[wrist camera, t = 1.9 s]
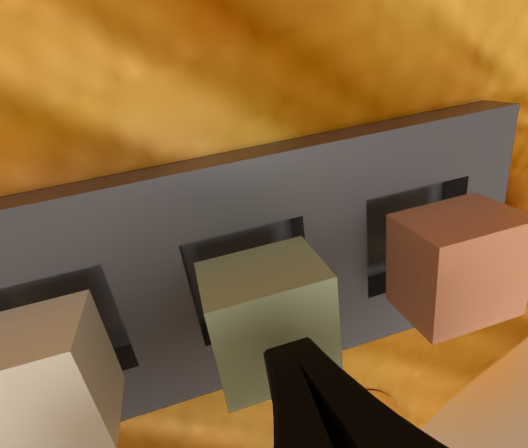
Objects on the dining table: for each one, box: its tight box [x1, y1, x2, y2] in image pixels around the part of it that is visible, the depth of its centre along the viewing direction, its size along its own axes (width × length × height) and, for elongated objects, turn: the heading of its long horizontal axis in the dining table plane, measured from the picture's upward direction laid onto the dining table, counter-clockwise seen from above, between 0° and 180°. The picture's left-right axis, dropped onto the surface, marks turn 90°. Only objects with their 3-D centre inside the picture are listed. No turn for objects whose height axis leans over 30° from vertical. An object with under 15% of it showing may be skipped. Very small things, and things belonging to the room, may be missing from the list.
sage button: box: [194, 236, 343, 413], centre depth 13 cm, size 4×4×3 cm
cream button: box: [0, 289, 125, 448], centre depth 11 cm, size 4×4×3 cm
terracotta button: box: [386, 192, 528, 345], centre depth 14 cm, size 4×4×3 cm
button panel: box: [0, 101, 519, 422], centre depth 15 cm, size 10×24×2 cm, turn 98°
